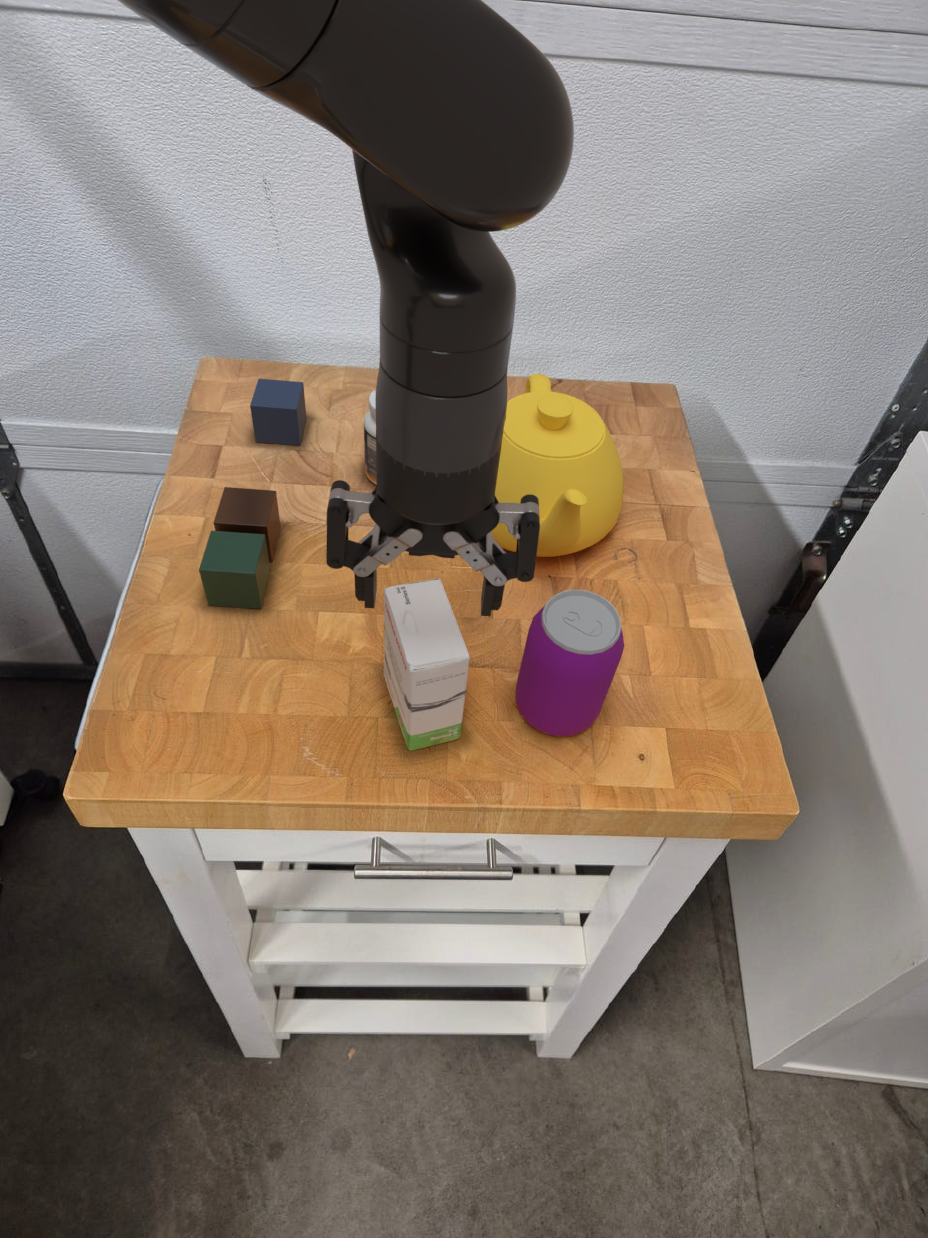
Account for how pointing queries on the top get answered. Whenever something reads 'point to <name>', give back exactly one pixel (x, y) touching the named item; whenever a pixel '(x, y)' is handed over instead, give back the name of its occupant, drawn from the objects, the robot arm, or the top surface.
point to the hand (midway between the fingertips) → (428, 603)
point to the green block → (235, 569)
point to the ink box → (424, 663)
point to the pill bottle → (370, 439)
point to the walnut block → (250, 514)
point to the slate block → (278, 411)
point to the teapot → (559, 469)
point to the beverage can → (569, 662)
